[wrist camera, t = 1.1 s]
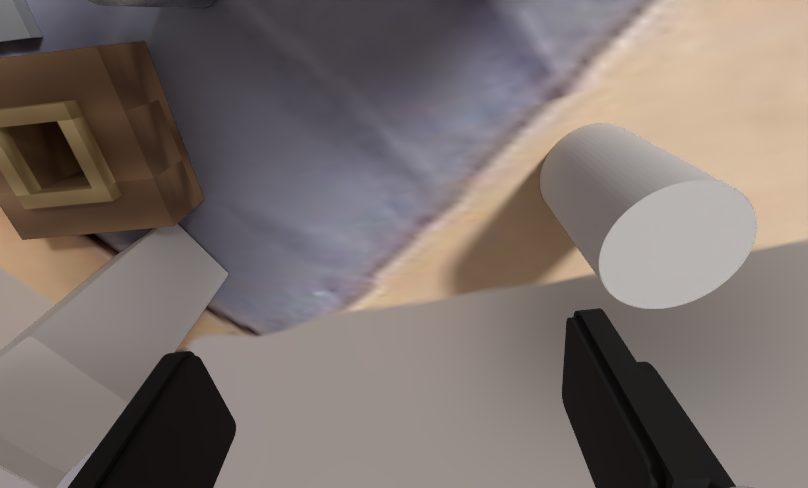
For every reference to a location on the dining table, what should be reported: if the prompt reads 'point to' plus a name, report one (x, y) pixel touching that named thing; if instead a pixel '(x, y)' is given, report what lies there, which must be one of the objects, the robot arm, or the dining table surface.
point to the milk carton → (98, 352)
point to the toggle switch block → (90, 144)
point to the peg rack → (17, 21)
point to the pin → (158, 3)
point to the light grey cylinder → (646, 216)
